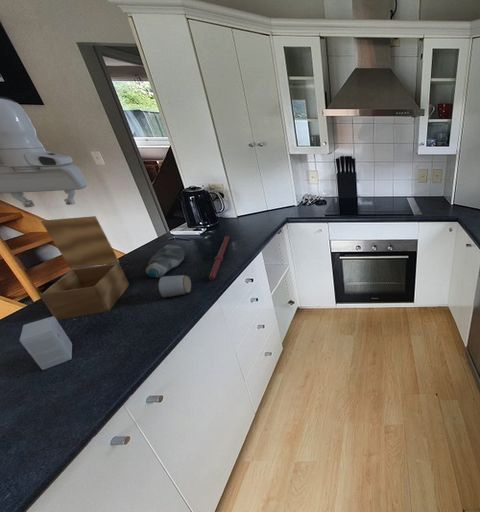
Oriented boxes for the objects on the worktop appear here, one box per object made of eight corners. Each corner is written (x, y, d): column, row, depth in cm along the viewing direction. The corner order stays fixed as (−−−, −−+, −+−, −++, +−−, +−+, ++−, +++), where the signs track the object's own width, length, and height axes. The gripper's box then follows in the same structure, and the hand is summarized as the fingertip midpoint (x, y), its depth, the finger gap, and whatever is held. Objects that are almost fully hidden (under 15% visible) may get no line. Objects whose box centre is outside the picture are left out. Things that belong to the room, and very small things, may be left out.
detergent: (160, 257, 129) (132, 283, 107) (156, 243, 126) (127, 267, 104) (192, 256, 132) (171, 281, 111) (189, 242, 130) (167, 266, 108)
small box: (44, 354, 76) (22, 324, 71) (73, 343, 79) (54, 315, 74) (41, 371, 71) (17, 340, 66) (72, 359, 74) (52, 329, 69)
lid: (94, 216, 93) (101, 212, 97) (40, 221, 89) (50, 215, 93) (118, 262, 102) (123, 256, 106) (70, 268, 98) (77, 262, 102)
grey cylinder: (189, 297, 101) (182, 279, 97) (162, 301, 98) (155, 283, 95) (196, 283, 109) (190, 266, 106) (172, 286, 107) (165, 269, 104)
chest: (109, 310, 93) (96, 286, 88) (56, 320, 88) (39, 295, 84) (129, 285, 107) (119, 263, 103) (84, 291, 103) (71, 269, 98)
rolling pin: (217, 280, 111) (215, 274, 110) (208, 281, 110) (206, 275, 109) (231, 239, 149) (230, 234, 148) (224, 240, 148) (223, 235, 147)
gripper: (-37, 161, 72) (-5, 211, 78) (66, 159, 79) (88, 205, 86) (-17, 158, 77) (11, 205, 83) (78, 156, 85) (97, 200, 91)
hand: (51, 205), depth 85 cm, fingers open, 8 cm apart
